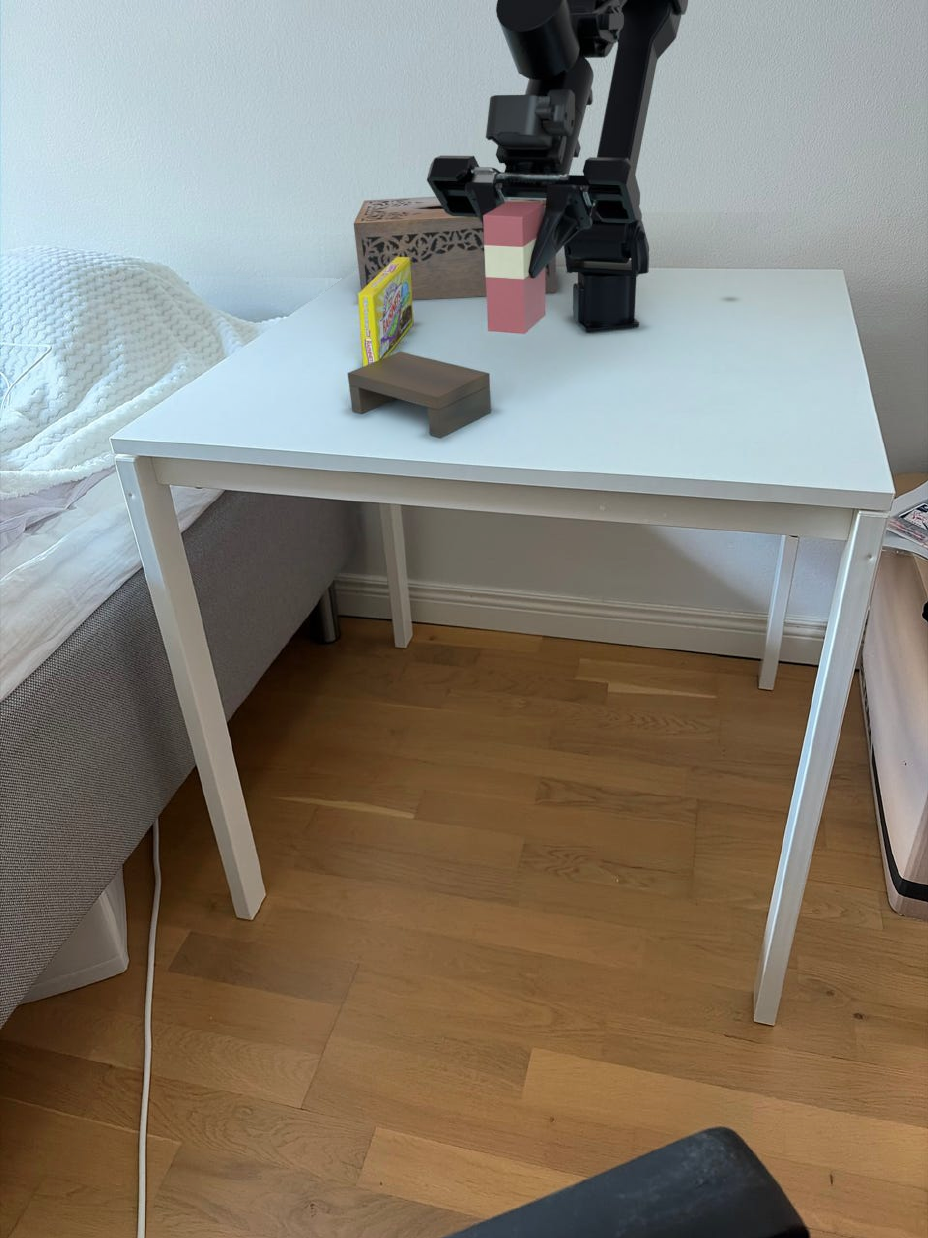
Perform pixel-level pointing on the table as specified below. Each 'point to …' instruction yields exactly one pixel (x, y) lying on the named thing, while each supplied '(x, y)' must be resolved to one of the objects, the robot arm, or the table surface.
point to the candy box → (385, 310)
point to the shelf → (423, 389)
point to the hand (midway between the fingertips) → (510, 274)
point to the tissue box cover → (427, 247)
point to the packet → (513, 267)
